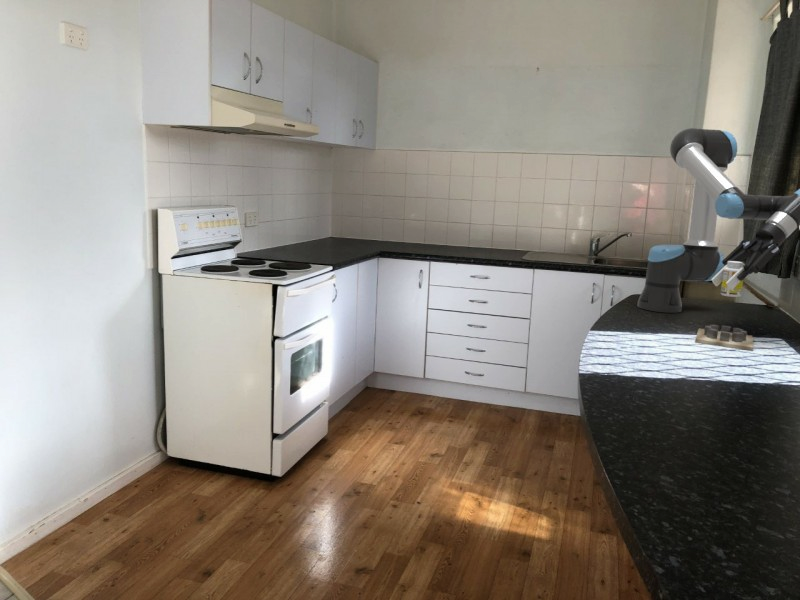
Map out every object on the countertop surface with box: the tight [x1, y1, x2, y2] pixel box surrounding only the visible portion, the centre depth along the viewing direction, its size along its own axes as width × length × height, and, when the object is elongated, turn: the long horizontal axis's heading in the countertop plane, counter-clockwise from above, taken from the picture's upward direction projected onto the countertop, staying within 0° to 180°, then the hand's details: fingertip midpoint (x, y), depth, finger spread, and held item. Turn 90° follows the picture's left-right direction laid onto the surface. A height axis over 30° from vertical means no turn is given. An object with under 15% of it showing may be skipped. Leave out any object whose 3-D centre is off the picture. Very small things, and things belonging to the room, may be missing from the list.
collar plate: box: [694, 324, 754, 351], centre depth 198 cm, size 15×17×4 cm
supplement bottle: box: [720, 261, 744, 298], centre depth 198 cm, size 6×6×10 cm
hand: (721, 284), depth 198 cm, fingers closed on supplement bottle, 5 cm apart
